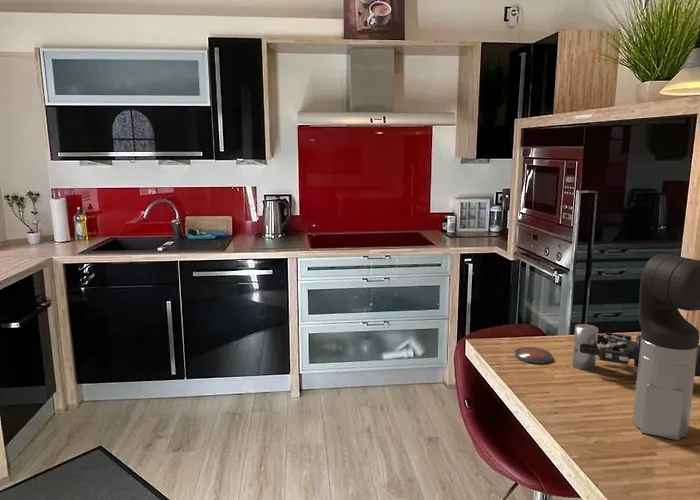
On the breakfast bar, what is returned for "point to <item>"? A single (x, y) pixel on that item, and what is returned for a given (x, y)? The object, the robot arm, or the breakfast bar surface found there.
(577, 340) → the grey metal cylinder
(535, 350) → the flange pad
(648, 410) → the robot arm
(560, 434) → the breakfast bar surface
